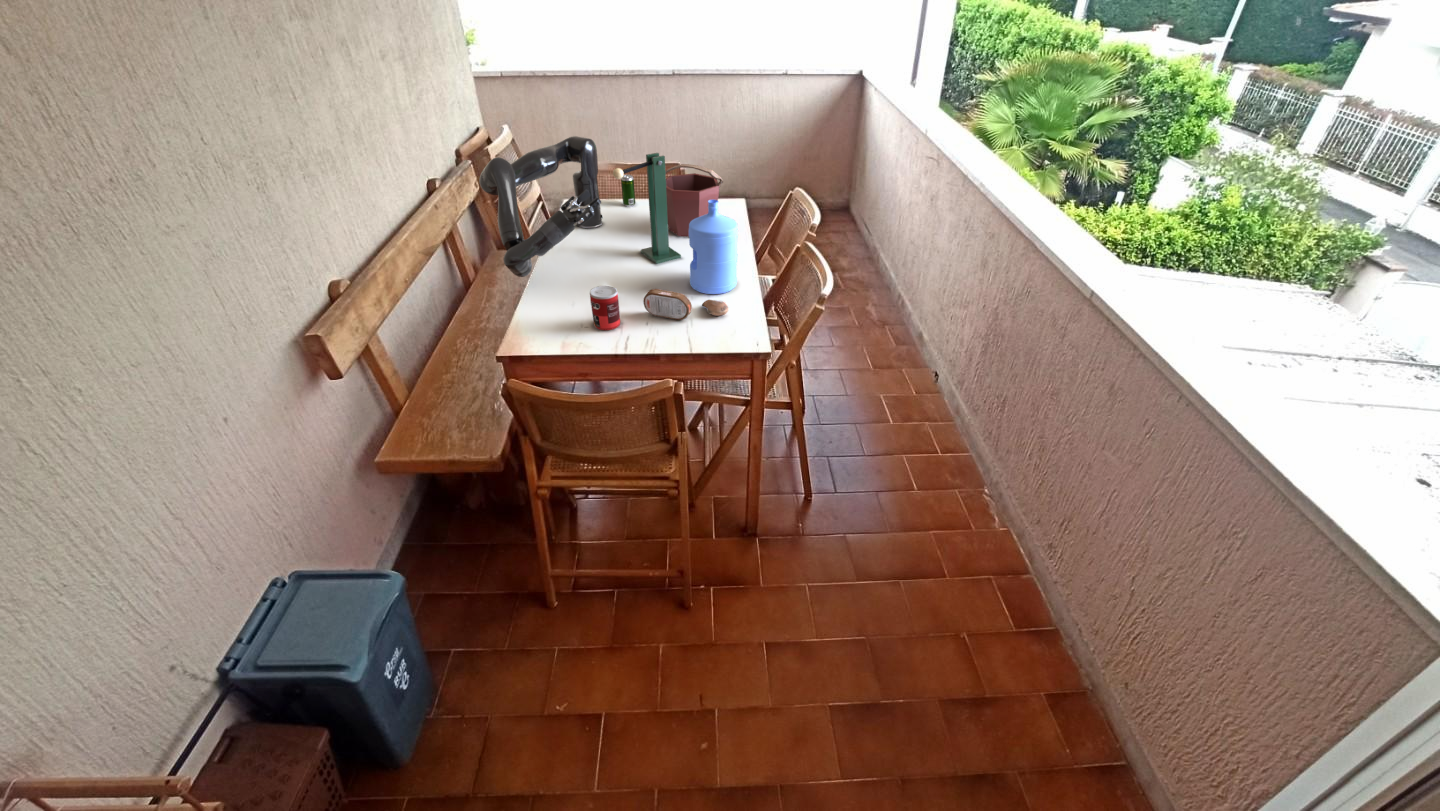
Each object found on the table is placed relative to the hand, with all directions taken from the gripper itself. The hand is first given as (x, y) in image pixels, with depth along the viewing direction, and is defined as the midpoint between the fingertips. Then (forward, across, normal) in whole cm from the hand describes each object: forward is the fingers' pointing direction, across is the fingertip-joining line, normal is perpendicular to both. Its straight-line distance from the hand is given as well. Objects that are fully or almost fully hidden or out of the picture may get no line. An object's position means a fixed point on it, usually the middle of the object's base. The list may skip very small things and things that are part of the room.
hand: (594, 195), depth 207 cm
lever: (+16, 0, +4) cm, 17 cm away
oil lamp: (+1, -47, +31) cm, 56 cm away
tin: (-11, -42, +24) cm, 49 cm away
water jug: (+10, -30, +36) cm, 48 cm away
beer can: (+20, +55, +42) cm, 72 cm away
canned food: (-26, -36, +15) cm, 47 cm away
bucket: (+26, +15, +45) cm, 54 cm away
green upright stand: (+7, 0, +34) cm, 35 cm away
